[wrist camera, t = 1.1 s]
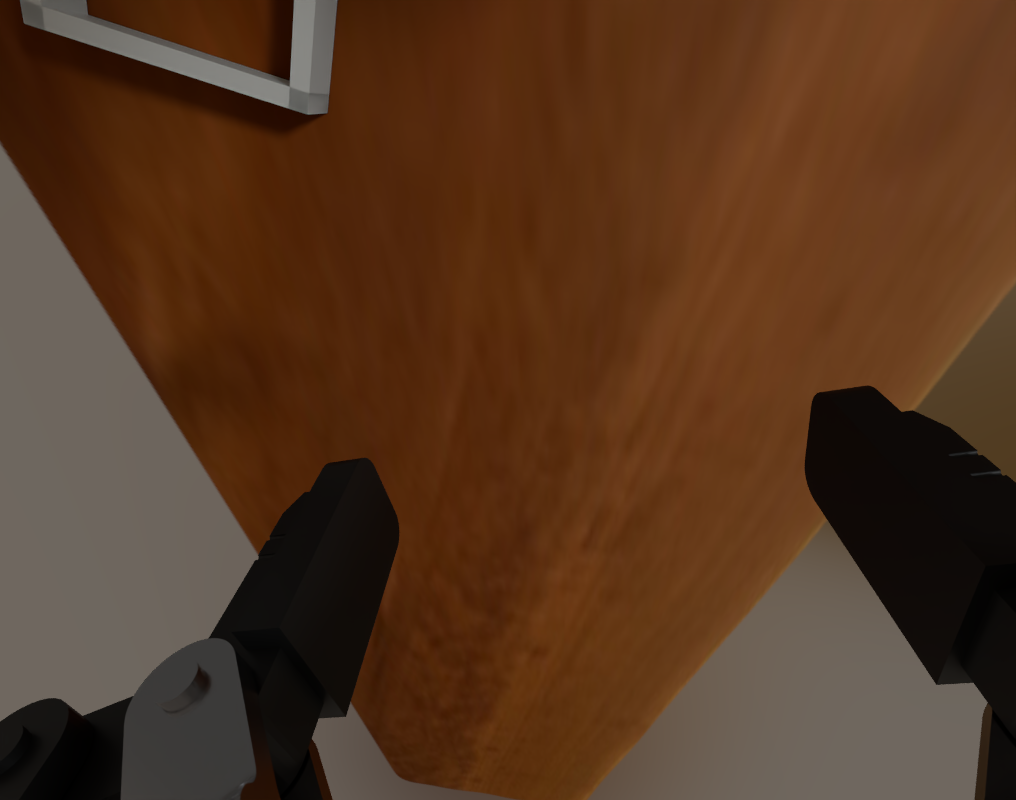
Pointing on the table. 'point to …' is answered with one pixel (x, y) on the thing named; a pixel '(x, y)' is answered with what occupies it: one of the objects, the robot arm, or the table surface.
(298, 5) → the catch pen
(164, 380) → the table surface
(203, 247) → the table surface
